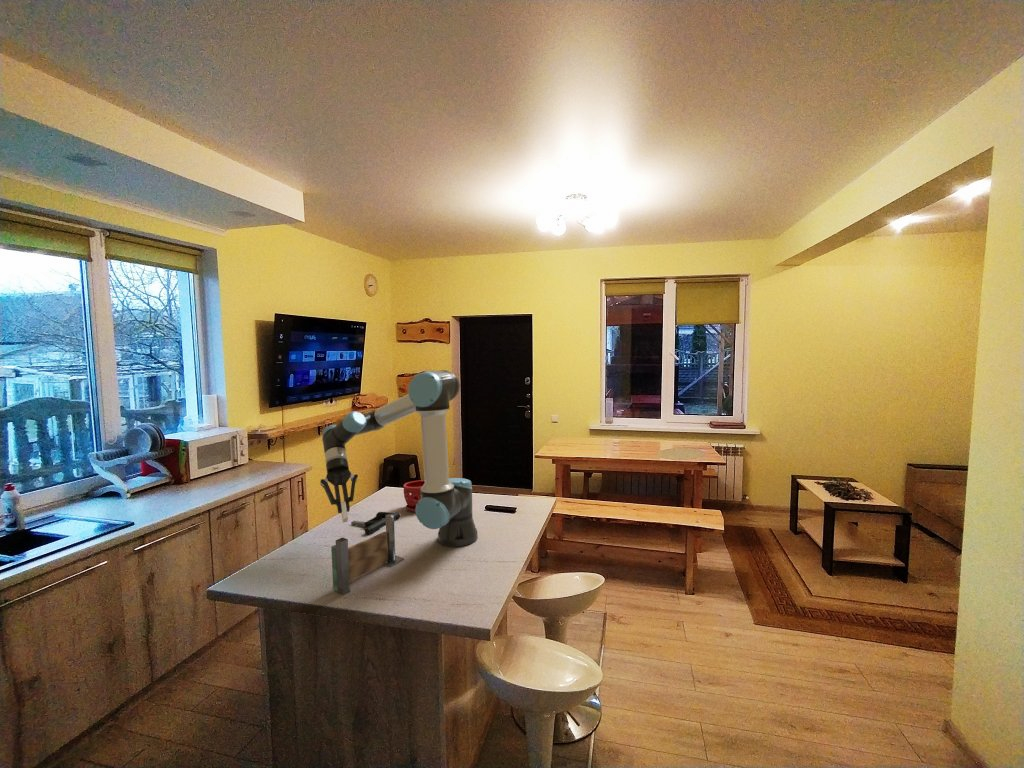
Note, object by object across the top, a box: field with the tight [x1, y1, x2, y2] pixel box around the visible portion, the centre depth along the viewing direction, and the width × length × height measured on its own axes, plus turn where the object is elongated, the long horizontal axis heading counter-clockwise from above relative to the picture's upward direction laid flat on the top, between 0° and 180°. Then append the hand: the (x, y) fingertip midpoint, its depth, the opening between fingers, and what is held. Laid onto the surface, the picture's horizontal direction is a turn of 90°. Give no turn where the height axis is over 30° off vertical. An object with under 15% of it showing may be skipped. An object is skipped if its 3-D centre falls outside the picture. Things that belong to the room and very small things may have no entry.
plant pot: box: [403, 479, 425, 513], centre depth 199 cm, size 13×13×12 cm
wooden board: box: [330, 531, 388, 592], centre depth 137 cm, size 20×2×13 cm, turn 148°
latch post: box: [335, 537, 351, 596], centre depth 128 cm, size 2×2×16 cm
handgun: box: [350, 511, 401, 535], centre depth 182 cm, size 3×20×16 cm
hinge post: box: [382, 514, 405, 568], centre depth 147 cm, size 6×6×16 cm
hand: (345, 520), depth 147 cm, fingers closed
